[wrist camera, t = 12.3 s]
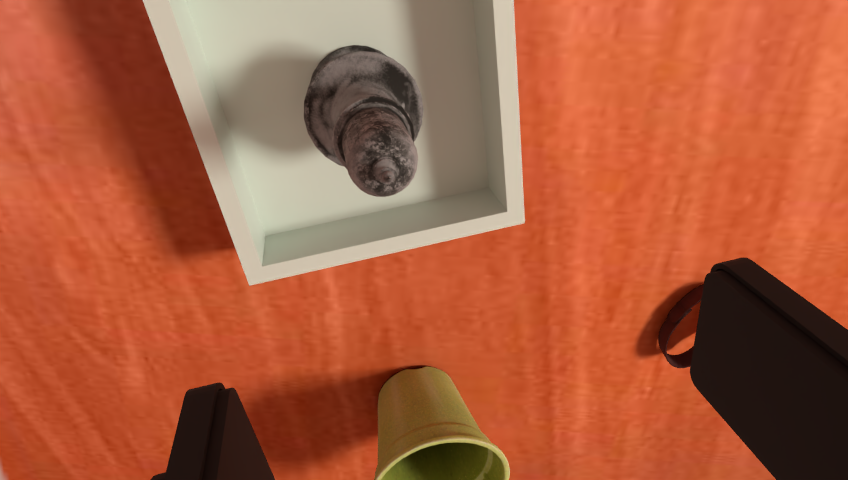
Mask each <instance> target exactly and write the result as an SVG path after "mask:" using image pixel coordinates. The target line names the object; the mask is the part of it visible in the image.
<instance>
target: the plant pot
mask: <svg viewBox="0 0 848 480" xmlns="http://www.w3.org/2000/svg"><path fill="white" fill-rule="evenodd" d="M509 476H510V469H509V464H508V461H507V459H506V457H505V455H504V453H503V452H502V451H501V450H500V449H499V448H498V447H497V446H496V445H494V444H493V443H491V442H490V440H489V439H488V438H487V437H486V436H485V435H484V434H483V433H482V432H481V430H480V429H479V427H478V425H477V424H476V422H475V420H474V418H473V417H472V415H471V413H470V412H469V410H468V408H467V406H466V405H465V403H464V401H463V399H462V397H461V395H460V394H459V392H458V390H457V388H456V387H455V385H454V383H453V381H452V380H451V378H450V377H449V376H448V375H447V374H446V373H445V372H443V371H441V370H439V369H437V368H433V367H427V366H426V367H423V368H420V369H406V370H403V371H401V372H399V373H397V374H395V375H394V376H393V377H391V378H390V379H389V380H388V381H387V382H386V383H385V384H384V385H383V387H382V388H381V390H380V393H379V397H378V465H377V468H376V472H375V479H374V480H509Z"/></svg>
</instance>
